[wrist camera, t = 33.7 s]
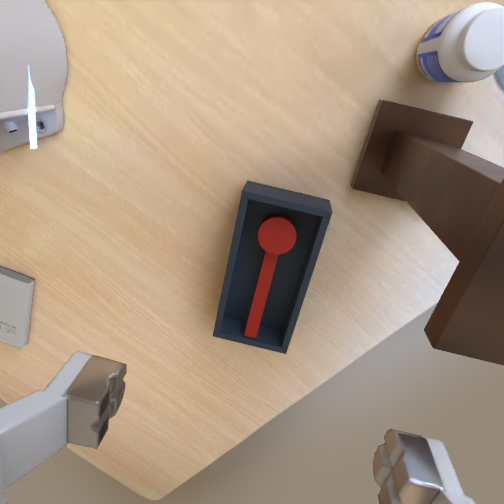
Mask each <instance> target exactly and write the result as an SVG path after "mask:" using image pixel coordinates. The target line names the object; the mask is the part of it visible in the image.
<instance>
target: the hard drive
mask: <svg viewBox="0 0 504 504" xmlns="http://www.w3.org/2000/svg"><path fill="white" fill-rule="evenodd" d="M34 283H35V279H33V278H31V277H29V276H26V275H24V274H21V273H18V272H16V271H13V270H10V269H7V268H5V267H2V266H0V341H1V342H3V343H6V344H9V345H12V346H14V347H17V348H24V347H25V346H26V345H27V344H28V336H29V327H30V318H31V309H32V300H33V292H34Z"/></svg>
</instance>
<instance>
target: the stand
mask: <svg viewBox="0 0 504 504" xmlns="http://www.w3.org/2000/svg"><path fill="white" fill-rule="evenodd" d="M472 124H473V121H469V120H465V119H461V118H457V117H452V116H448V115H444V114H440V113H435V112H431V111H427V110H423V109H418V108H414V107H410V106H406V105H401V104H397V103H393V102H389V101H384V100H379V103H378V106H377V109H376V112H375V115H374V117H373V120H372V123H371V126H370V129H369V132H368V135H367V138H366V141H365V144H364V147H363V150H362V153H361V156H360V159H359V162H358V165H357V168H356V171H355V174H354V177H353V179H352V182H351V186H352V188H353V189H356V190H361V191H365V192H369V193H373V194H377V195H382V196H386V197H390V198H394V199H398V200H403V201H407V203H408V204H409V205H410V206H411V207H412V208H413V209H414V210H415V212H416V213H417V214H418V215H419V216H420V217H421V218H422V220H423V221H424V222H425V223H426V224H427V225H428V226H429V227H430V229H431V230H432V231H433V232H434V233H435V234H436V235H437V236H438V238H439V239H440V240H441V241H442V242H443V243H444V244H445V246H446V247H447V248H448V249H449V250H450V251H451V252H452V253H453V255H454V256H455V257H456V258H457V259H458V260H459V261H460V262H459V264H458V266H457V268H456V269H455V271H454V273H453V275H452V277H451V279H450V281H449V283H448V285H447V287H446V288H445V290H444V292H443V294H442V296H441V298H440V300H439V302H438V304H437V306H436V308H435V310H434V311H433V313H432V315H431V317H430V319H429V321H428V323H427V325H426V327H425V329H424V331H425V333H426V335H427V337H428V339H429V341H430V343H431V345H432V347H433V348H434V349H438V350H443V351H447V352H451V353H455V354H459V355H463V356H468V357H471V358H475V359H480V360H484V361H488V362H492V363H496V364H500V365H504V168H503V167H501V166H499V165H496V164H494V163H492V162H489V161H487V160H485V159H482V158H480V157H478V156H475V155H473V154H471V153H469V152H466V151H464V150H462V149H461V148H462V145H463V143H464V141H465V139H466V137H467V135H468V132H469V130H470V128H471V126H472Z"/></svg>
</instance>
